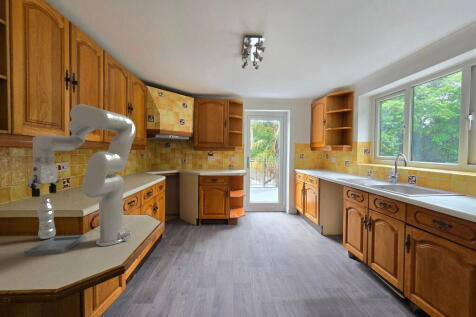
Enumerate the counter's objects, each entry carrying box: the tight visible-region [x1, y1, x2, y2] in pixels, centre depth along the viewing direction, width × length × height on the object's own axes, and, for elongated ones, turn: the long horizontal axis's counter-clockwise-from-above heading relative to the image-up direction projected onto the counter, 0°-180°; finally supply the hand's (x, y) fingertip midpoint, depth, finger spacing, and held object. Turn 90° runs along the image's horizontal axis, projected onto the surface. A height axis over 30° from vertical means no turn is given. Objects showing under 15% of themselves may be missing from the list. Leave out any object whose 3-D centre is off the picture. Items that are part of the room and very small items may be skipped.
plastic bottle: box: [36, 197, 57, 240], centre depth 102 cm, size 6×7×20 cm
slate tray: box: [23, 235, 87, 257], centre depth 91 cm, size 15×15×2 cm
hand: (44, 194), depth 102 cm, fingers open, 9 cm apart
